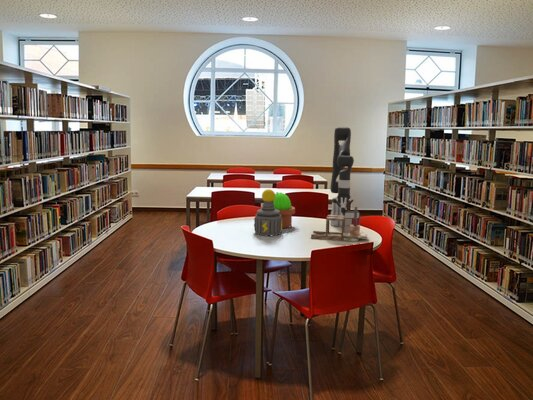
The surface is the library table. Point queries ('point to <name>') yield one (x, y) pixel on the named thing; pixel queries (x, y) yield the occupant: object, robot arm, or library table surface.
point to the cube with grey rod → (355, 228)
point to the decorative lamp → (268, 216)
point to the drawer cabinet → (333, 234)
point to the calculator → (350, 220)
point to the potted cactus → (284, 209)
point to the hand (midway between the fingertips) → (343, 213)
